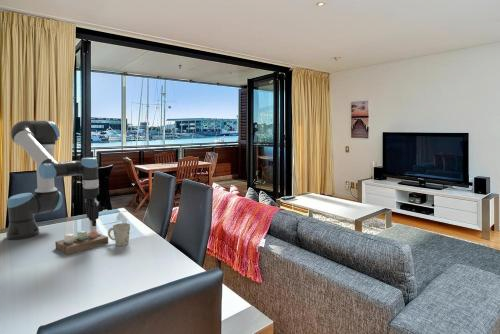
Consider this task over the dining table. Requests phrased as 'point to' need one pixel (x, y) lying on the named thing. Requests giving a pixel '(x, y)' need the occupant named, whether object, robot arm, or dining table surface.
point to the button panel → (81, 244)
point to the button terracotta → (93, 234)
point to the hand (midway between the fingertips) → (93, 231)
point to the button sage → (81, 235)
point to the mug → (120, 233)
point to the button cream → (69, 238)
